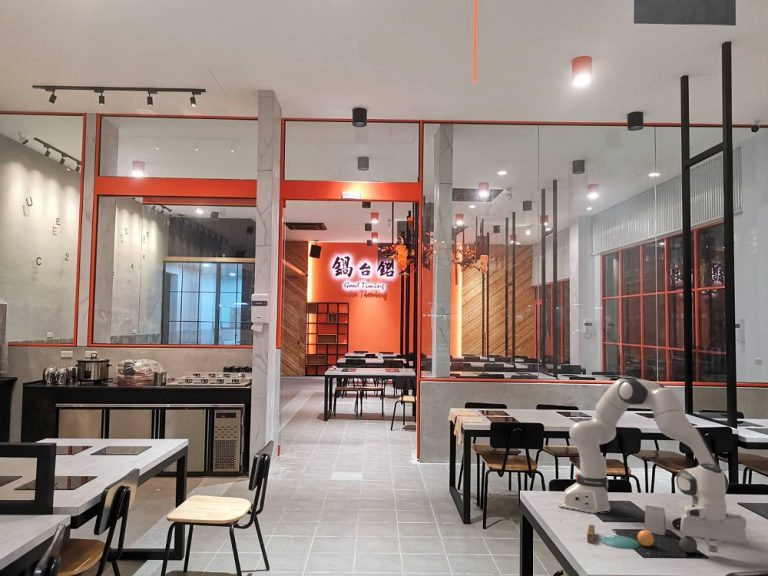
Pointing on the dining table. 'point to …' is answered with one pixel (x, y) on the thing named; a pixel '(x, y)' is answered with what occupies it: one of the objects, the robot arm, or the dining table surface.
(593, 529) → the wall
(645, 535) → the orange ball
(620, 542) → the teal ellipsoid
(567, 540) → the dining table surface
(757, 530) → the dining table surface
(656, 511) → the white carton box
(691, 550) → the gray ball
